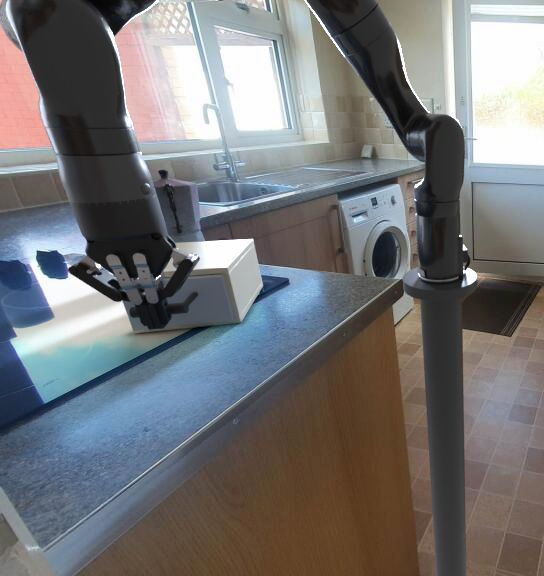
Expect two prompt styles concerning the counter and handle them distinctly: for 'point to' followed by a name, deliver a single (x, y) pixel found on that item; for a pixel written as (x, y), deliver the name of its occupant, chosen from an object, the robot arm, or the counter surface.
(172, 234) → the moka pot
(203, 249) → the cabinet
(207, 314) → the drawer
